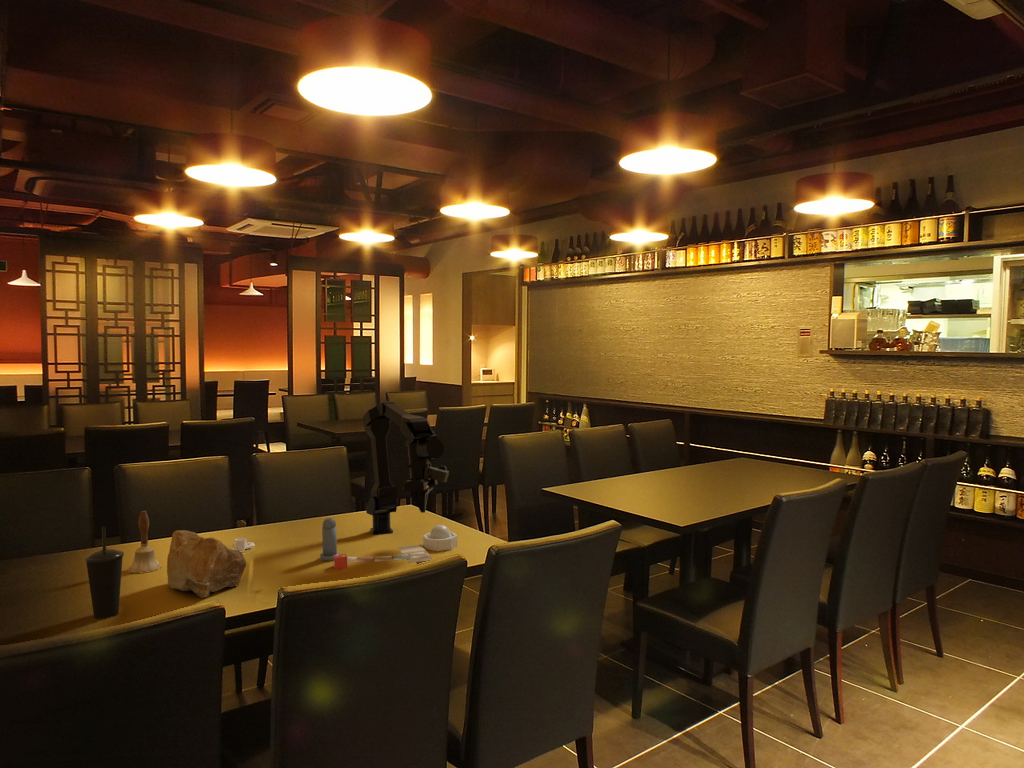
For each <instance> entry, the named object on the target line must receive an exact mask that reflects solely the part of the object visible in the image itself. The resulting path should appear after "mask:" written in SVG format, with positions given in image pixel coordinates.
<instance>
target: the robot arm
mask: <svg viewBox="0 0 1024 768" xmlns="http://www.w3.org/2000/svg"><path fill="white" fill-rule="evenodd" d="M392 422H393V423H395V424H396V425H397V426H398V427H400V433H402V435H403V436H404V437H405V438H407V439H406V441H405V443H404V446H405V447H406V446H407V455H408V463H409V464H407V468H408V469H409V478H408V480H405V481H404V482H403V484H402V492H408V493H409V495H410V496H411V497H412V498H413V501H414V502H415V504H416V506H417V508H418V509H419V511H420V513H421V514H422V513H423V514H424V513H426V509H427V502H428V497H429V494H430V492H431V491H432V490H433V489H434V486H437V485H438V484H439V483H438V482H440V483H443V484H444V483H447V482H448V477H449V475H450V470H447V466H445V465H440V466H439V467H433V466H432V463H431V462H430V461H429V460H434V459H435V460H436V459H440V458H441V457H442V456H443V454H444V452H445V447H444V444H443V442H442V441H441V440H439V439H438V436H437V434H435V432H434V430H433V429H432V426H431V425H430V422H429V421H428V419H427V418H426V417H424V416H421V415H413V414H411V413H409V412H408V411H406V410H405V409H403V408H402V407H400V406H399V405H397V403H396V402H394V401H381V402H379V403H378V404H376V405H375V406H374V407H372V408H371V409H367V411H366V412H365V414H364V415H363V417H362V424H363V426H364V431H365V433H366V434H367V436H368V437H369V438H370V443H371V444H370V446H371V456H372V457H371V458H372V465H373V479H374V484H373V485H372V488H371V490H370V498H369V500H368V501H367V504H366V506H365V511H366V514H368V515H370V516H372V527H371V528H370V532H371V533H372V535H379V534H381V535H382V534H390V533H394V530H393V528H391V527H392V526H391V513H396V512H397V510H398V503H399V496H398V488H397V487H396V485H393V484H392V482H391V478H390V468H389V466H390V465H389V457H388V446H387V435H388V434H389V431H390V428H391V423H392ZM433 485H434V486H433ZM429 486H431V487H429Z"/></svg>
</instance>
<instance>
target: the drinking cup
mask: <svg viewBox="0 0 1024 768" xmlns="http://www.w3.org/2000/svg"><path fill="white" fill-rule="evenodd" d="M106 537H107V535H106V527H105V526H102V527H101V541H102V543H101V544H102V549H98V550H96V551H93V552H91V553H89V554H87V555H86V556H85V557H84V562H86V569H87V570H86V571H87V576H88V583H89V591H90V597H91V598H90V599H91V605H92V611H93V612H92V613H93V617H94V619H97V618H103V619H108V618H107V617H109V618H111V617H110V616H113V617H115V616H117V615H118V614H119V611H120V597H121V584H122V583H121V582H122V571H123V569H122V568H123V557H124V556H125V552H124V551H123V550H118V549H115V548H107V542H106V541H107V539H106ZM116 614H117V615H116ZM114 615H115V616H114Z"/></svg>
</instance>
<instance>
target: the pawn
mask: <svg viewBox="0 0 1024 768" xmlns="http://www.w3.org/2000/svg"><path fill="white" fill-rule="evenodd" d="M321 529H322V530H321V532H322V536H321V537H322V540H321V541H322V552H321V553H320V554H319V556H320V557H319V559H320V560H322V562H334V555H336V554H340V552H339V551H338V549H337V548H338V546H337V545H338V544H337V543H338V542H337V541H338V540H337V538H338V537H337V522H336V521H335V519H334V518H333V517H328V518H325V519H324V520H323V522H322V528H321ZM320 560H319V561H320Z"/></svg>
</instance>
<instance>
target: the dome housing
mask: <svg viewBox="0 0 1024 768" xmlns="http://www.w3.org/2000/svg"><path fill="white" fill-rule="evenodd" d="M430 534H431V531H430V532H428V533H426V534H423V540H422V541H423V545H422V547H423V548H424V549H425V550H428V551H435V552H439V551H440V552H441V551H450V550H453V549H455V548H457V547H458V535H457V533H455V532H453V531H450V534H451V535H452V537H451V538H448V539H431V538H428V536H429V535H430ZM456 546H457V547H456ZM454 547H455V548H454ZM452 548H453V549H452Z"/></svg>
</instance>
